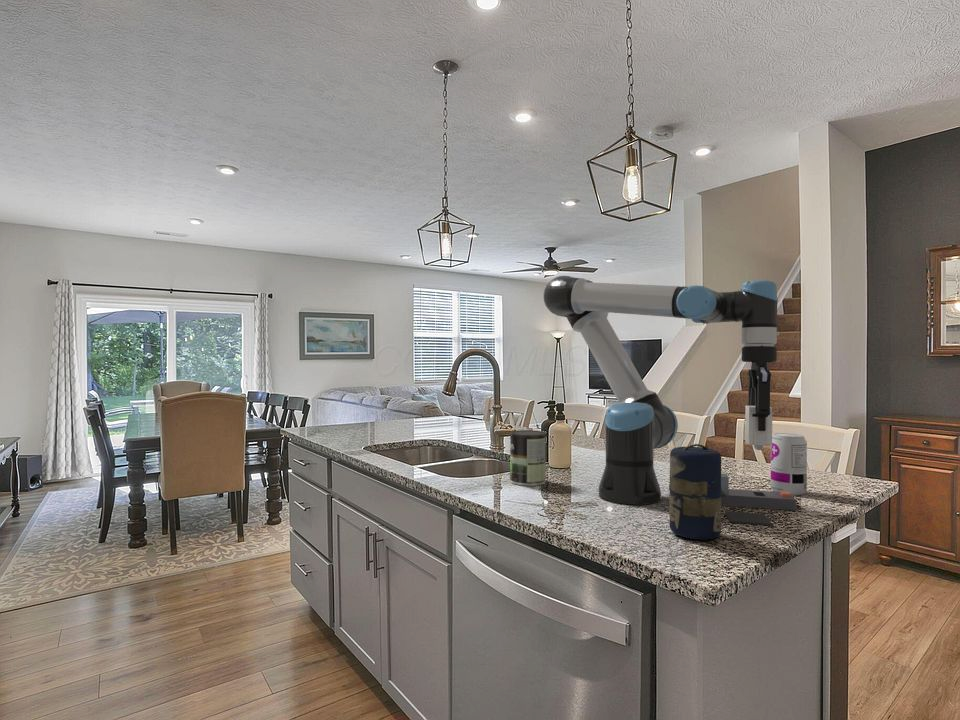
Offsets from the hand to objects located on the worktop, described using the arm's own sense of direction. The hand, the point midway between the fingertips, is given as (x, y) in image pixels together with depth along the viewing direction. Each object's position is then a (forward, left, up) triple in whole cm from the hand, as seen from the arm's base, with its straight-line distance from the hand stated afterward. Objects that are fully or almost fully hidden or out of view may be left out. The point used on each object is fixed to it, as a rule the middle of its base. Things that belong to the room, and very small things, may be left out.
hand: (758, 442), depth 129 cm
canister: (-17, -29, -15) cm, 37 cm away
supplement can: (+10, +16, -15) cm, 24 cm away
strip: (-6, -2, -15) cm, 16 cm away
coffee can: (-58, +8, -15) cm, 60 cm away
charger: (0, 0, -1) cm, 1 cm away
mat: (-5, -14, -15) cm, 21 cm away
